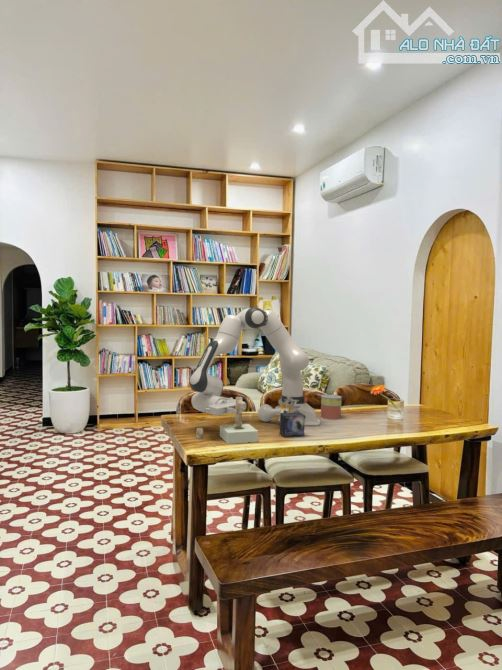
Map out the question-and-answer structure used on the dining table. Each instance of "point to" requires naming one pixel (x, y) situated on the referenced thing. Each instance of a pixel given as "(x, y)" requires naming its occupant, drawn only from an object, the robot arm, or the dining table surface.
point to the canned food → (331, 407)
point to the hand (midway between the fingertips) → (240, 410)
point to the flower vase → (277, 409)
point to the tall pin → (238, 415)
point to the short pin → (199, 433)
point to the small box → (292, 424)
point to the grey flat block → (238, 434)
